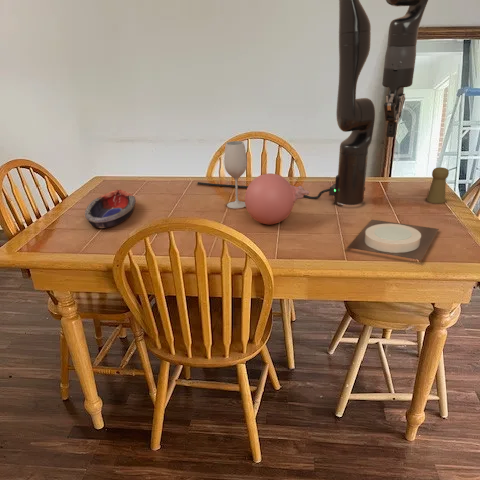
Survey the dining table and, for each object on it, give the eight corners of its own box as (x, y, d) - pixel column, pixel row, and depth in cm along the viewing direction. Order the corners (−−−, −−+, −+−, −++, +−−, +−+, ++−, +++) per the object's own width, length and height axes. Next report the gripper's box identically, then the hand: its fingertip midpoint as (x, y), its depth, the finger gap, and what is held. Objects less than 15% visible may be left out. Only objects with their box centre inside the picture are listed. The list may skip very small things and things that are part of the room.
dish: (76, 232, 157) (72, 217, 154) (103, 201, 183) (100, 188, 180) (124, 232, 156) (122, 216, 153) (145, 200, 182) (143, 187, 180)
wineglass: (222, 207, 173) (219, 145, 162) (231, 200, 179) (228, 140, 168) (243, 209, 170) (241, 146, 159) (251, 202, 176) (249, 141, 165)
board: (346, 250, 138) (347, 247, 138) (371, 222, 156) (371, 219, 155) (421, 263, 130) (421, 260, 129) (438, 232, 147) (438, 228, 147)
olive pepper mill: (446, 203, 168) (452, 170, 162) (427, 203, 169) (432, 170, 164) (443, 197, 173) (449, 165, 167) (425, 197, 174) (430, 165, 169)
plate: (357, 247, 137) (358, 238, 136) (372, 229, 148) (373, 220, 147) (413, 256, 131) (414, 247, 130) (424, 236, 142) (426, 227, 141)
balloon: (309, 231, 151) (312, 181, 143) (244, 232, 153) (242, 182, 145) (307, 214, 164) (309, 167, 156) (246, 214, 166) (245, 168, 158)
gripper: (391, 63, 134) (383, 131, 143) (377, 68, 124) (370, 140, 133) (419, 63, 131) (410, 132, 140) (408, 68, 121) (398, 142, 130)
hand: (390, 136), depth 136 cm, fingers closed
